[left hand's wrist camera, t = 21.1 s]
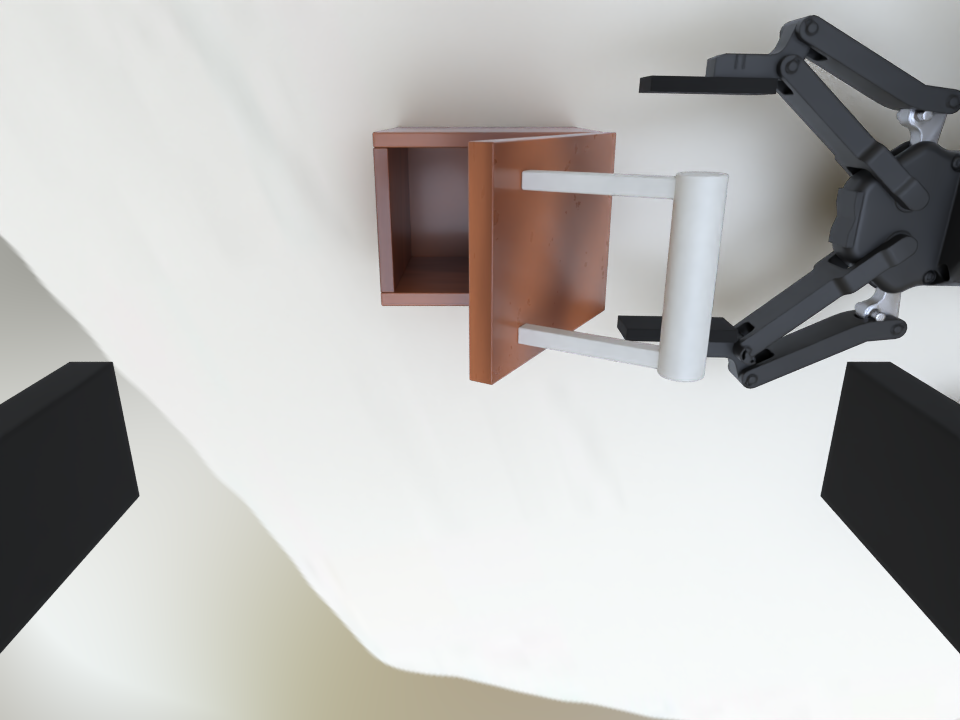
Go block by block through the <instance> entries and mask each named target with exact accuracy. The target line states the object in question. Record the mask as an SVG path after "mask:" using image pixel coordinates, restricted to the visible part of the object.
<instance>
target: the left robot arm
mask: <svg viewBox="0 0 960 720" xmlns="http://www.w3.org/2000/svg"><path fill="white" fill-rule="evenodd" d="M138 497H139V491H138V486H137V481H136V476H135V471H134V466H133V461H132V456H131V451H130V446H129V441H128V436H127V431H126V426H125V421H124V416H123V411H122V406H121V401H120V396H119V391H118V386H117V381H116V376H115V371H114V366H113V362H69V363H67V364H66V365H64V366H62V367H61V368H59V369H57V370H56V371H54V372H53V373H51V374H49V375H48V376H46V377H44V378H43V379H41V380H39V381H38V382H36V383H35V384H33V385H31V386H30V387H28V388H26V389H25V390H23V391H22V392H20V393H18V394H17V395H15V396H13V397H12V398H10V399H8V400H7V401H5V402H3V403H2V404H0V653H1V652H2V651H3V650H4V649H5V647H6V646H7V645H8V644H9V643H10V642H11V641H12V640H13V638H14V637H15V636H16V635H17V634H18V633H19V632H20V630H21V629H22V628H23V627H24V626H25V625H26V624H27V623H28V622H29V620H30V619H31V618H32V617H33V616H34V615H35V614H36V612H37V611H38V610H39V609H40V608H41V607H42V606H43V605H44V603H45V602H46V601H47V600H48V599H49V598H50V597H51V595H52V594H53V593H54V592H55V591H56V590H57V589H58V587H59V586H60V585H61V584H62V583H63V582H64V581H65V580H66V579H67V577H68V576H69V575H70V574H71V573H72V572H73V571H74V569H75V568H76V567H77V566H78V565H79V564H80V563H81V562H82V560H83V559H84V558H85V557H86V556H87V555H88V554H89V553H90V551H91V550H92V549H93V548H94V547H95V546H96V545H97V543H98V542H99V541H100V540H101V539H102V538H103V537H104V536H105V534H106V533H107V532H108V531H109V530H110V529H111V528H112V527H113V525H114V524H115V523H116V522H117V521H118V520H119V519H120V517H121V516H122V515H123V514H124V513H125V512H126V511H127V510H128V508H129V507H130V506H131V505H132V504H133V503H134V502H135V501H136V499H137V498H138ZM821 497H822V498H823V499H824V501H825V502H826V503H827V504H828V505H829V506H830V507H831V508H832V510H833V511H834V512H835V513H836V514H837V515H838V516H839V517H840V519H841V520H842V521H843V522H844V523H845V524H846V525H847V527H848V528H849V529H850V530H851V531H852V532H853V533H854V534H855V536H856V537H857V538H858V539H859V540H860V541H861V542H862V543H863V545H864V546H865V547H866V548H867V549H868V550H869V551H870V553H871V554H872V555H873V556H874V557H875V558H876V559H877V560H878V562H879V563H880V564H881V565H882V566H883V567H884V568H885V570H886V571H887V572H888V573H889V574H890V575H891V576H892V577H893V579H894V580H895V581H896V582H897V583H898V584H899V585H900V586H901V588H902V589H903V590H904V591H905V592H906V593H907V594H908V596H909V597H910V598H911V599H912V600H913V601H914V602H915V603H916V605H917V606H918V607H919V608H920V609H921V610H922V611H923V612H924V614H925V615H926V616H927V617H928V618H929V619H930V620H931V622H932V623H933V624H934V625H935V626H936V627H937V628H938V629H939V631H940V632H941V633H942V634H943V635H944V636H945V637H946V638H947V640H948V641H949V642H950V643H951V644H952V645H953V646H954V648H955V649H956V650H957V651H958V652H959V653H960V404H958V403H957V402H955V401H953V400H952V399H950V398H948V397H947V396H945V395H943V394H942V393H940V392H939V391H937V390H935V389H934V388H932V387H930V386H929V385H927V384H926V383H924V382H922V381H921V380H919V379H917V378H916V377H914V376H912V375H911V374H909V373H908V372H906V371H904V370H903V369H901V368H899V367H898V366H896V365H894V364H893V363H891V362H847V366H846V371H845V376H844V381H843V386H842V391H841V396H840V401H839V406H838V411H837V416H836V421H835V426H834V431H833V436H832V441H831V446H830V451H829V456H828V461H827V466H826V471H825V476H824V481H823V486H822V491H821Z"/></svg>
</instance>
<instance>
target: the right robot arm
mask: <svg viewBox="0 0 960 720" xmlns="http://www.w3.org/2000/svg"><path fill="white" fill-rule="evenodd" d="M805 58H807V59H808V60H810V61H811V62H813V63H815V64H816V65H818V66H819V67H821V68H823V69H824V70H826V71H827V72H829V73H831V74H832V75H834V76H835V77H837V78H839V79H840V80H842V81H843V82H845V83H847V84H848V85H850V86H851V87H853V88H855V89H856V90H858V91H859V92H861V93H863V94H864V95H866V96H867V97H869V98H871V99H872V100H874V101H875V102H877V103H879V104H881V105H883V106H884V107H887V108H890V109H893V110H898V111H899V112H898V113H897V119H898V120H899V122H900V124H901V125H903V126H905V127H907V128H908V129H909V131H910V133H911V138H910V141H907V142H905V143H903V144H901V145H899V146H898V147H896V148H895V149H893V150H891V151H889V150H888V149H887V148H886V147H885V146H884V145H883V144H881V143H879V142H877V141H876V140H875V139H874V138H873V137H872V136H871V135H870V134H869V133H868V132H867V131H866V129H865V128H864V127H863V126H862V125H861V124H860V123H859V122H858V120H857V119H856V118H855V117H854V116H853V115H852V114H851V113H850V111H849V110H848V109H847V108H846V107H845V106H844V105H843V104H842V102H841V101H840V100H839V99H838V98H837V97H836V96H835V95H834V93H833V92H832V91H831V90H830V89H829V88H828V87H827V86H826V84H825V83H824V82H823V81H822V80H821V79H820V78H819V77H818V75H817V74H816V73H815V72H814V71H813V70H812V69H811V68H810V67H809V65H808V64H807V63H806V62H805V61H804V59H805ZM776 91H777V93H778V94H779V95H780V96H781V97H782V98H783V99H784V100H785V101H786V102H787V104H788V105H789V106H790V107H791V108H792V109H793V110H794V111H795V112H796V113H797V114H798V116H799V117H800V118H801V119H802V120H803V121H804V122H805V123H806V124H807V125H808V126H809V128H810V129H811V130H812V131H813V132H814V133H815V134H816V135H817V136H818V137H819V138H820V140H821V141H822V142H823V143H824V144H825V145H826V146H827V147H828V148H829V149H830V150H831V152H832V153H833V154H834V155H835V160H836V161H837V162H838V163H839V164H840V165H841V167H842V168H843V169H844V170H845V171H846V172H847V173H848V174H849V175H850V176H851V177H850V178H849V180H848V181H847V182H846V184H845V185H844V187H843V188H839V190H838V196H837V201H836V203H837V217H836V219H835V221H834V223H833V225H832V228H831V231H830V236H829V241H828V242H831V243H832V245H833V249H834V251H833V252H832V253H830V254H829V255H827V256H826V257H824V258H823V259H822V260H820V261H819V262H818V263H816V264H815V266H814V269H813V270H812V271H811V272H810V273H808V274H807V275H805V276H804V277H803V278H801V279H800V280H798V281H797V282H795V283H794V284H793V285H791V286H790V287H788V288H787V289H786V290H784V291H783V292H781V293H780V294H778V295H777V296H776V297H774V298H773V299H771V300H770V301H769V302H767V303H766V304H764V305H763V306H761V307H760V308H759V309H757V310H756V311H754V312H753V313H752V314H750V315H749V316H747V317H746V318H744V319H743V320H742V321H740V322H739V323H737V324H736V325H735V326H732V325H731V324H730V323H729V322H728V321H726V320H725V319H724V318H723V317H711V325H710V333H709V341H708V349H707V357H725V358H728V361H729V364H728V369H729V371H730V372H731V373H732V374H733V375H734V376H735V377H736V378H737V379H738V380H739V382H740V383H741V384H742V385H743V386H744V387H746V388H750V389H751V388H755V387H758V386H760V385H762V384H765V383H767V382H770V381H772V380H775V379H777V378H779V377H782V376H784V375H787V374H789V373H792V372H794V371H796V370H799V369H801V368H804V367H806V366H808V365H811V364H813V363H816V362H818V361H821V360H823V359H825V358H828V357H830V356H833V355H835V354H838V353H840V352H842V351H845V350H847V349H850V348H852V347H855V346H857V345H859V344H862V343H864V342H867V341H877V340H888V339H897V338H900V337H902V336H903V335H904V334H905V333H906V330H907V324H906V322H905V321H903V320H901V319H899V318H898V313H899V305H900V297H901V292H903V291H905V290H907V289H909V288H912V287H915V286H920V285H929V286H960V151H951V150H946V149H944V148H942V147H941V146H940V145H938V144H937V142H938V139H939V137H940V134H941V131H942V128H943V125H944V122H945V119H946V117H947V114H953V113H955V112H957V111H958V110H959V109H960V91H959V90H956V89H949V88H942V87H936V86H929V85H925V84H923V83H922V82H920V81H919V80H917V79H915V78H914V77H912V76H911V75H909V74H908V73H906V72H904V71H903V70H901V69H900V68H898V67H897V66H895V65H894V64H892V63H890V62H889V61H887V60H886V59H884V58H883V57H881V56H879V55H878V54H876V53H875V52H873V51H872V50H870V49H869V48H867V47H865V46H864V45H862V44H861V43H859V42H858V41H856V40H854V39H853V38H851V37H850V36H848V35H847V34H845V33H844V32H842V31H840V30H839V29H837V28H836V27H834V26H833V25H831V24H829V23H828V22H826V21H825V20H823V19H822V18H820V17H818V16H815V15H812V16H807V17H804V18H800V19H797V20H793V21H790V22H788V23H786V24H785V25H784V26H783V27H782V28H781V31H780V39H779V41H778V43H777V45H776V47H775V49H774V50H773V51H772V52H771V53H770V54H727V53H726V54H722V55H718V56H715V57H713V58H710V59H708V60H707V68H706V76H705V77H694V76H648V77H643V78H640V86H639V93H678V94H728V95H765V94H776ZM848 267H849V268H848ZM868 283H869V284H870V285H871V286H873V287H874V288H876V291H875V293H874V295H873V296H872V297H871V298H870V299H868V300H865V301H862V302H858V303H857V304H856V305H855V310H852V311H846V312H842V313H839V314H836V315H834V316H831V317H829V318H826V319H824V320H822V321H819V322H817V323H815V324H812V325H810V326H807V327H805V328H803V329H800V330H798V331H796V332H793V333H791V334H788V335H786V334H787V333H789V332H790V331H792V330H793V329H795V328H796V327H797V326H799V325H800V324H802V323H803V322H805V321H806V320H808V319H809V318H810V317H812V316H813V315H815V314H816V313H818V312H819V311H821V310H822V309H824V308H825V307H826V306H828V305H829V304H831V303H832V302H834V301H835V300H837V299H838V298H840V297H841V296H843V295H847V294H852V293H854V292H856V291H857V290H859V289H860V288H862V287H863V286H865V285H866V284H868ZM661 326H662V316H618V324H617V328H618V329H619V331H620V332H621V334H622V336H623V337H624V339H625V340H629V341H655V342H660V336H661ZM784 335H786V336H784ZM783 336H784V337H783Z"/></svg>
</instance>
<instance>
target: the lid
mask: <svg viewBox="0 0 960 720" xmlns="http://www.w3.org/2000/svg"><path fill="white" fill-rule="evenodd" d="M615 143H616V133H613V132H594V133H579V134H565V135H551V136H537V137H523V138H508V139H494V140H480V141H469V142H468V200H469V358H470V380H472V381H476V382H481V383H486V384H490V385H493V384H494V383H496V382H497V381H499V380H500V379H502V378H503V377H505V376H506V375H508V374H509V373H511V372H512V371H514V370H515V369H517V368H518V367H520V366H521V365H523V364H524V363H526V362H527V361H529V360H530V359H532V358H533V357H535V356H536V355H538V354H539V353H541V352H542V351H544V350H545V349H552V350H557V351H563V352H568V353H574V354H579V355H585V356H590V357H595V358H601V359H606V360H612V361H617V362H623V363H628V364H634V365H639V366H644V367H650V368H655V369H657V372H658V374H659V375H660V376H662V377H664V378H666V379H669V380H673V381H679V382H693V381H698V380H701V379H702V378H703V377H704V374H705V365H706V357H707V349H708V341H709V333H710V325H711V316H712V308H713V300H714V292H715V284H716V276H717V267H718V259H719V251H720V243H721V235H722V227H723V218H724V210H725V202H726V194H727V186H728V178H729V176H728V174H725V173H717V172H680V173H677V174H676V176H657V175H635V174H614V159H615ZM612 195H613V196H629V197H645V198H661V199H674V201H673V212H672V222H671V232H670V243H669V253H668V264H667V274H666V284H665V295H664V305H663V316H662V326H661V336H660V346H659V345H653V344H647V343H641V342H635V341H629V340H623V339H617V338H611V337H605V336H599V335H593V334H587V333H581V332H575V331H574V330H575V329H577V328H578V327H580V326H581V325H583V324H584V323H586V322H587V321H589V320H590V319H592V318H593V317H595V316H596V315H598V314H599V313H601V312H602V311H604V310H605V296H606V281H607V266H608V250H609V235H610V220H611V204H612Z"/></svg>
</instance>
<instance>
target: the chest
mask: <svg viewBox="0 0 960 720" xmlns="http://www.w3.org/2000/svg"><path fill="white" fill-rule="evenodd" d="M594 132H600V131H594V130H588V129H582V128H577V127H397V128H392V129H387V130H382V131H377V132H373V147H375V148H373V154H374V173H375V192H376V211H377V230H378V249H379V268H380V287H381V305H382V306H469V200H468V142H469V141H480V140H494V139H508V138H523V137H537V136H551V135H565V134H579V133H594Z"/></svg>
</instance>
